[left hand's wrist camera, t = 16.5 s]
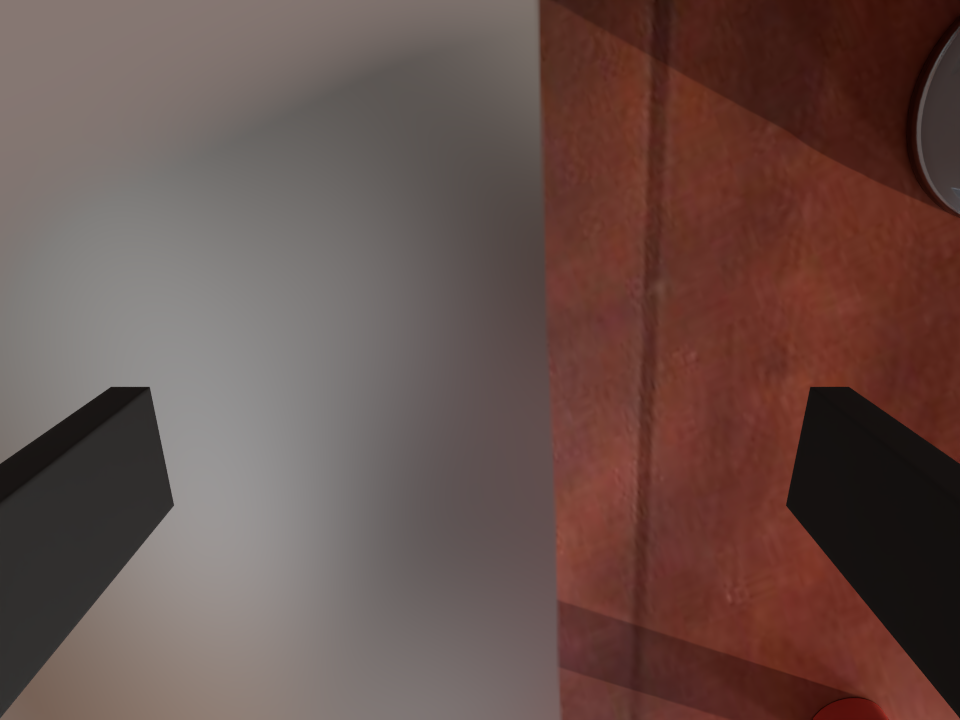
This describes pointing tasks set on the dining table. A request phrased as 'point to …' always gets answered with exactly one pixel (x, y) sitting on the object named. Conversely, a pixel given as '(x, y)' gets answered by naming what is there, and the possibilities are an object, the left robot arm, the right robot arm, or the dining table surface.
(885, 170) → the dining table surface
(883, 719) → the canister
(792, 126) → the dining table surface
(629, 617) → the dining table surface
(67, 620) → the left robot arm
